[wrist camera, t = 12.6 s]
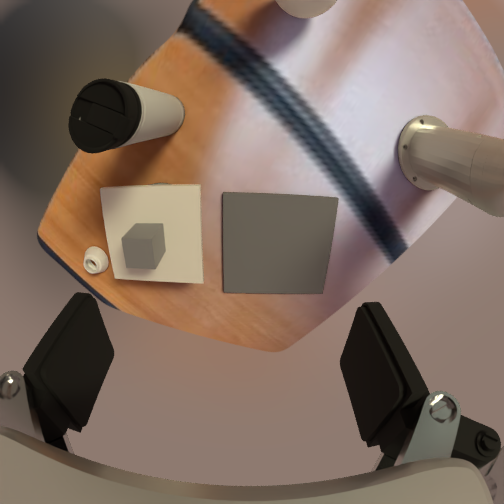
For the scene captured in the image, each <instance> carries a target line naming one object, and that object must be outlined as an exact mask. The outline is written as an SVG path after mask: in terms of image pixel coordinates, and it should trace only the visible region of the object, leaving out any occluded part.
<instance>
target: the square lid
mask: <svg viewBox="0 0 504 504" xmlns="http://www.w3.org/2000/svg"><path fill="white" fill-rule="evenodd" d="M100 195H101V203H102V211H103V218H104V224H105V230H106V236H107V242H108V247H109V253H110V258H111V262H112V267H113V272H114V276H115V279H129V280H145V281H162V282H181V283H204V271H203V249H202V221H201V184H171V185H135V186H115V187H102V188H100Z"/></svg>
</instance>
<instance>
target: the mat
mask: <svg viewBox="0 0 504 504" xmlns="http://www.w3.org/2000/svg"><path fill="white" fill-rule="evenodd" d="M337 207H338V198H336V197H323V196H308V195H290V194H269V193H238V192H223V266H224V292H227V293H273V294H322V293H323V288H324V283H325V278H326V273H327V268H328V262H329V257H330V251H331V245H332V239H333V233H334V227H335V220H336V214H337Z"/></svg>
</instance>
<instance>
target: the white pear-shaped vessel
mask: <svg viewBox="0 0 504 504" xmlns="http://www.w3.org/2000/svg"><path fill="white" fill-rule="evenodd" d="M336 1H337V0H276V2H277V3H278V5H279V6H280V7H281V8H282V9H283V10H284V11H285V12H286V13H288V14H290V15H292V16H294V17H297V18H312V17H316V16H319V15H321V14H323V13H324V12H326V11H328V10H329V9H330V8H331V7H332V6H333V5H334V4H335V3H336Z"/></svg>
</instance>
